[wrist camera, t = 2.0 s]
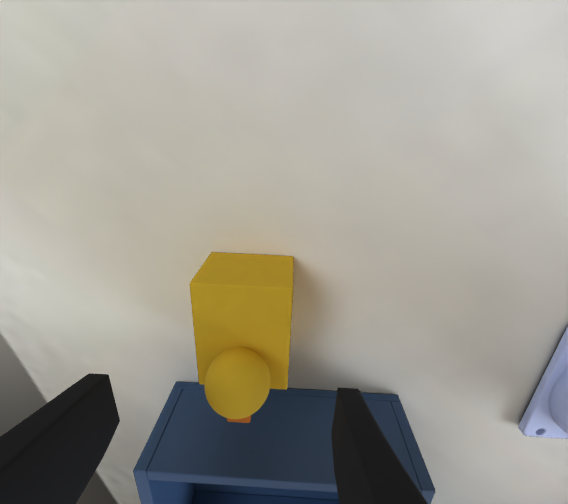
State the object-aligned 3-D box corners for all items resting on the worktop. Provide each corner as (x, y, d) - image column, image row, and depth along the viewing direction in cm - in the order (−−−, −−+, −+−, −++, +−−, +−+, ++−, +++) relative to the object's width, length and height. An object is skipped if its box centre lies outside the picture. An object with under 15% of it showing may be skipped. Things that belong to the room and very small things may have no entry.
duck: (293, 255, 14) (292, 325, 9) (288, 352, 16) (284, 452, 11) (211, 251, 14) (163, 318, 9) (216, 348, 16) (181, 446, 11)
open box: (398, 394, 17) (436, 490, 12) (371, 498, 21) (393, 602, 16) (175, 380, 17) (132, 471, 13) (190, 486, 21) (160, 585, 17)
